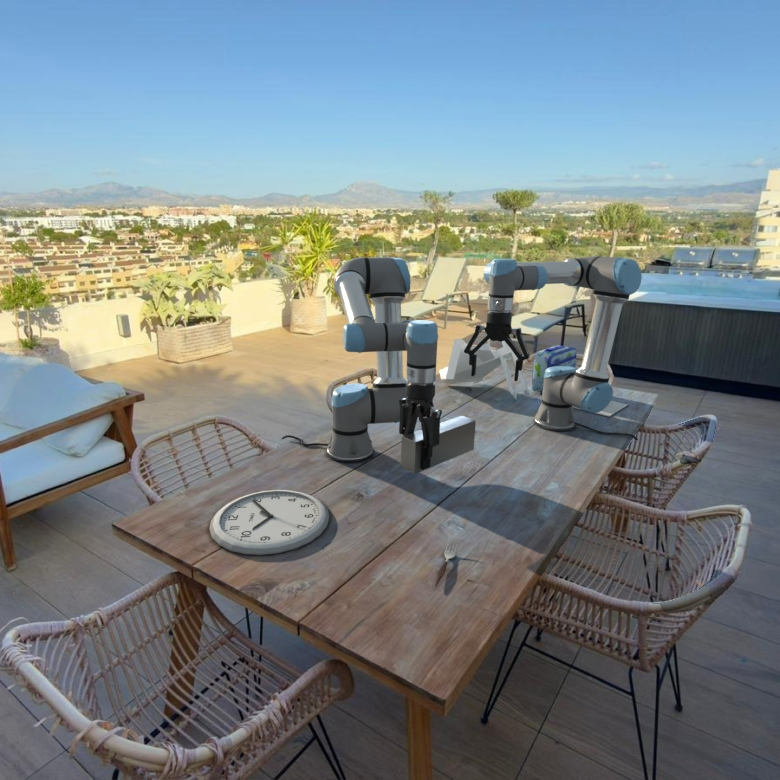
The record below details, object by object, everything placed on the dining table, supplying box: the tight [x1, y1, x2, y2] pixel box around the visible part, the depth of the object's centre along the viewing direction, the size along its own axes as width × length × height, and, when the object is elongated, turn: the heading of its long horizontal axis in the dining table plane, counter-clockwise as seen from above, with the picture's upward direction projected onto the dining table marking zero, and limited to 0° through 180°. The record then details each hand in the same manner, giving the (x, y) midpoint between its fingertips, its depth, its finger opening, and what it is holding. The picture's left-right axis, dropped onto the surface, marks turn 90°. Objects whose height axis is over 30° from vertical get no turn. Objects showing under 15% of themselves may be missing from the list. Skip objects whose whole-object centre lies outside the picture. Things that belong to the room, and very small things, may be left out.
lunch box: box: [531, 345, 577, 394], centre depth 245 cm, size 26×11×21 cm, turn 134°
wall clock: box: [209, 489, 330, 556], centre depth 135 cm, size 30×2×30 cm
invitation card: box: [573, 400, 629, 418], centre depth 226 cm, size 21×1×15 cm
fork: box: [435, 540, 459, 587], centre depth 117 cm, size 3×16×2 cm, turn 160°
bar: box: [400, 415, 477, 475], centre depth 145 cm, size 24×5×9 cm, turn 132°
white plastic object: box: [438, 338, 531, 400], centre depth 245 cm, size 37×45×31 cm
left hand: (417, 464), depth 141 cm, fingers closed on bar, 5 cm apart
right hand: (494, 377), depth 166 cm, fingers open, 13 cm apart
